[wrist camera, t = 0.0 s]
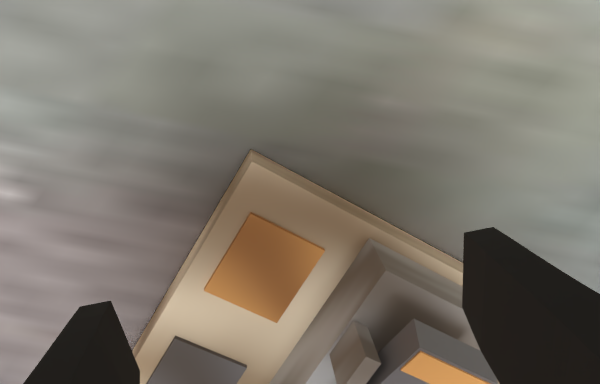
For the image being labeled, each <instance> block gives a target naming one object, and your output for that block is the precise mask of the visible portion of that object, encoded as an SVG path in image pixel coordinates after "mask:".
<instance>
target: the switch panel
mask: <svg viewBox="0 0 600 384" xmlns="http://www.w3.org/2000/svg"><path fill="white" fill-rule="evenodd" d="M462 291H463V263H462V262H460V261H458V260H456V259H455V258H453V257H451V256H449V255H447V254H445V253H443V252H442V251H440V250H438V249H436V248H434V247H432V246H430V245H428V244H427V243H425V242H423V241H421V240H419V239H417V238H415V237H414V236H412V235H410V234H408V233H406V232H404V231H402V230H401V229H399V228H397V227H395V226H393V225H391V224H389V223H387V222H386V221H384V220H382V219H380V218H378V217H376V216H374V215H373V214H371V213H369V212H367V211H365V210H363V209H361V208H360V207H358V206H356V205H354V204H352V203H350V202H348V201H346V200H345V199H343V198H341V197H339V196H337V195H335V194H333V193H332V192H330V191H328V190H326V189H324V188H322V187H320V186H319V185H317V184H315V183H313V182H311V181H309V180H307V179H305V178H304V177H302V176H300V175H298V174H296V173H294V172H292V171H291V170H289V169H287V168H285V167H283V166H281V165H279V164H278V163H276V162H274V161H272V160H270V159H268V158H266V157H264V156H263V155H261V154H259V153H257V152H255V151H253V150H250V151H249V153H248V155H247V156H246V158H245V160H244V161H243V163H242V165H241V167H240V168H239V170H238V172H237V173H236V175H235V177H234V178H233V180H232V182H231V184H230V185H229V187H228V189H227V190H226V192H225V194H224V195H223V197H222V199H221V201H220V202H219V204H218V206H217V207H216V209H215V211H214V212H213V214H212V216H211V218H210V219H209V221H208V223H207V224H206V226H205V228H204V230H203V231H202V233H201V235H200V236H199V238H198V240H197V241H196V243H195V245H194V247H193V248H192V250H191V252H190V253H189V255H188V257H187V258H186V260H185V262H184V264H183V265H182V267H181V269H180V270H179V272H178V274H177V275H176V277H175V279H174V281H173V282H172V284H171V286H170V287H169V289H168V291H167V292H166V294H165V296H164V298H163V299H162V301H161V303H160V304H159V306H158V308H157V309H156V311H155V313H154V315H153V316H152V318H151V320H150V321H149V323H148V325H147V326H146V328H145V330H144V332H143V333H142V335H141V337H140V338H139V340H138V342H137V343H136V345H135V347H134V349H133V350H132V353H133V355H134V358H135V360H136V362H137V365H138V367H139V369H140V384H366V383H367V382H368V381H369V379H370V378H371V377H372V375H373V374H374V373H375V371H376V370H377V369H378V367H379V366H380V365H381V361H380V359H379V356H378V352H379V351H380V350H381V349H382V348H384V347H385V346H386V345H387V344H388V343H389V342H390V341H391V340H392V339H393V338H394V337H395V336H396V335H397V334H398V333H399V332H400V331H401V330H402V329H403V328H404V327H405V326H406V325H407V324H408V323H410V322H411V321H412V320H413V319H416V320H418V321H420V322H422V323H424V324H426V325H428V326H430V327H432V328H434V329H437V330H439V331H441V332H443V333H445V334H447V335H449V336H451V337H453V338H455V339H457V340H459V341H461V342H463V343H465V344H467V345H469V346H472V347H474V348H476V349H478V350H480V348H479V346H478V343H477V341H476V339H475V337H474V334H473V332H472V330H471V327H470V325H469V323H468V320H467V318H466V315H465V313H464V310H463V308H462ZM480 351H481V350H480ZM497 381H498V380H497ZM498 384H500V383H499V382H498Z"/></svg>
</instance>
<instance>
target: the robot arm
mask: <svg viewBox="0 0 600 384" xmlns="http://www.w3.org/2000/svg"><path fill="white" fill-rule="evenodd" d="M462 308H463V310H464V313H465V315H466V318H467V320H468V323H469V325H470V327H471V330H472V332H473V334H474V337H475V339H476V341H477V343H478V346H479V348H480V350H481V352H482V354H483V356H484V357H485V359H486V361H487V363H488V364H489V366H490V368H491V369H492V371H493V373H494V375H495V376H496V378H497V380H498V382H499V383H500V384H600V294H599V293H597V292H595V291H594V290H592V289H590V288H588V287H587V286H585V285H583V284H582V283H580V282H578V281H577V280H575V279H573V278H572V277H570V276H569V275H567V274H565V273H564V272H562V271H561V270H559V269H557V268H556V267H554V266H553V265H551V264H550V263H548V262H546V261H545V260H543V259H542V258H540V257H539V256H537V255H536V254H534V253H533V252H531V251H529V250H528V249H526V248H525V247H523V246H522V245H520V244H519V243H517V242H516V241H514V240H513V239H511V238H510V237H508V236H506V235H505V234H503V233H502V232H500V231H499V230H497V229H495V228H494V227H492V228H486V229H481V230H476V231H471V232H466V233H464V255H463V291H462ZM23 384H140V369H139V367H138V365H137V362H136V360H135V358H134V355H133V353H132V350H131V348H130V346H129V343H128V341H127V338H126V336H125V334H124V331H123V329H122V326H121V324H120V322H119V319H118V317H117V314H116V312H115V310H114V307H113V305H112V303H111V301H107V302H102V303H97V304H91V305H86V306H81V307H79V309H78V310H77V311H76V313H75V314H74V315H73V317H72V318H71V319H70V321H69V322H68V324H67V325H66V326H65V328H64V329H63V330H62V332H61V333H60V334H59V336H58V337H57V339H56V340H55V341H54V343H53V344H52V346H51V347H50V348H49V350H48V351H47V352H46V354H45V355H44V357H43V358H42V359H41V361H40V362H39V363H38V365H37V366H36V367H35V369H34V370H33V371H32V373H31V374H30V375H29V377H28V378H27V379H26V381H25V382H24V383H23Z"/></svg>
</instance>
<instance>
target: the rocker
mask: <svg viewBox="0 0 600 384" xmlns="http://www.w3.org/2000/svg"><path fill="white" fill-rule="evenodd" d="M378 356H379V359H380V361H381V365H380V366H379V367H378V369H377V370H376V371H375V373H374V374H373V375H372V377H371V378H370V379H369V381H368V382H367V383H366V384H498V381H497V378H496V376H495V375H494V373H493V371H492V369H491V368H490V366H489V364H488V363H487V361H486V359H485V357H484V356H483V354H482V352H481V351H480V350H478V349H476V348H474V347H472V346H469V345H467V344H465V343H463V342H461V341H459V340H457V339H455V338H453V337H451V336H449V335H447V334H445V333H443V332H441V331H439V330H437V329H434V328H432V327H430V326H428V325H426V324H424V323H422V322H420V321H418V320H416V319H413V320H412V321H411V322H410V323H408V324H407V325H406V326H405V327H404V328H403V329H402V330H401V331H400V332H399V333H398V334H397V335H396V336H395V337H394V338H393V339H392V340H391V341H390V342H389V343H388V344H387V345H386V346H385V347H384V348H382V349H381V350H380V351H379V352H378Z"/></svg>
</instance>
